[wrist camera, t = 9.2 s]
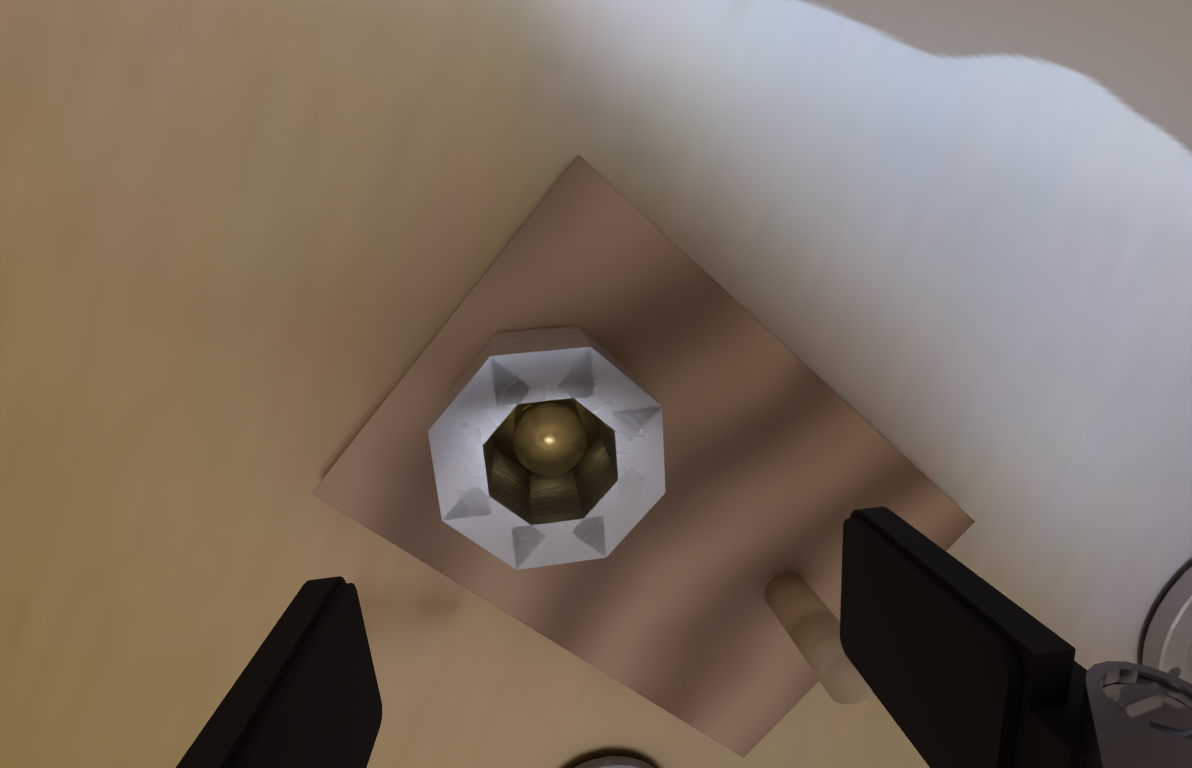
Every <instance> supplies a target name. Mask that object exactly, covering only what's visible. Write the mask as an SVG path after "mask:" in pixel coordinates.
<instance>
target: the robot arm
mask: <svg viewBox="0 0 1192 768" xmlns="http://www.w3.org/2000/svg"><path fill="white" fill-rule="evenodd" d="M840 641H841V645H842V648H843V650H844V653H845V654H846V656H847V658H848V659H849V660H850V662H851V663H852V664H853V666H854V667H855V668H856V670H857V671H858V672H859V674H860V675H861V676H862V678H863V679H864V680H865V682H866V683H867V684H868V686H869V687H870V688H871V690H872V691H873V692H874V694H875V695H876V696H877V698H878V699H879V700H880V702H881V703H882V704H883V706H884V707H885V708H886V710H887V711H888V712H889V714H890V715H891V716H892V718H893V719H894V720H895V722H896V723H897V724H898V726H899V727H900V728H901V730H902V731H903V732H904V734H905V735H906V736H907V738H908V739H909V740H910V742H911V743H912V744H913V746H914V747H915V748H916V750H917V751H918V752H919V754H920V755H921V756H922V758H923V759H924V760H925V762H926V763H927V764H928V766H929V767H930V768H1192V566H1191V567H1190V568H1189V569H1187V570H1186V571H1185V572H1184V573H1183V574H1182V576H1181V577H1180V578H1179V579H1178V580H1177V581H1176V583H1175V584H1174V585H1173V586H1172V587H1171V588H1170V590H1169V591H1168V593H1167V594H1166V596H1165V597H1164V599H1163V600H1162V602H1161V603H1160V605H1159V606H1158V608H1157V610H1156V612H1155V614H1154V616H1153V618H1152V621H1151V623H1150V625H1149V627H1148V631H1147V634H1146V638H1145V641H1144V646H1143V657H1142V664H1143V665H1139V664H1134V663H1129V662H1114V661H1107V662H1103V663H1099V664H1094V665H1093V666H1092V667H1091V668H1090V669H1089V670H1088V671H1087V670H1086V669H1085V668H1083V667H1082V666H1081V665H1079V664H1078V663H1077V662H1075V661H1074V656H1075V650H1076V649H1075V648H1074V647H1072V646H1071V645H1070V644H1068V643H1067V642H1066V641H1064V640H1063V639H1062V638H1060V637H1059V636H1058V635H1056V634H1055V633H1054V632H1052V631H1051V630H1050V629H1048V628H1047V627H1046V626H1044V625H1043V624H1042V623H1040V622H1039V621H1038V620H1037V619H1035V618H1034V617H1033V616H1031V615H1030V614H1029V613H1027V612H1026V611H1025V610H1023V609H1022V608H1021V607H1019V606H1018V605H1017V604H1015V603H1014V602H1013V601H1011V600H1010V599H1009V598H1007V597H1006V596H1005V595H1003V594H1002V593H1001V592H999V591H998V590H997V589H995V588H994V587H993V586H991V585H990V584H989V583H987V582H986V581H985V580H983V579H982V578H981V577H979V576H978V575H977V574H975V573H974V572H973V571H971V570H970V569H969V568H967V567H966V566H965V565H963V564H962V563H961V562H959V561H958V560H957V559H955V558H954V557H953V556H951V555H950V554H949V553H947V552H946V551H945V550H943V549H942V548H941V547H939V546H938V545H937V544H935V543H934V542H933V541H931V540H930V539H929V538H927V537H926V536H925V535H923V534H922V533H921V532H919V531H918V530H917V529H915V528H914V527H913V526H911V525H910V524H909V523H907V522H906V521H905V520H903V519H902V518H901V517H899V516H898V515H897V514H895V513H894V512H893V511H891V510H890V509H889V508H887V507H885V506H881V507H873V508H865V509H858V510H854V511H853V512H852V514H851V516H850V518H847V519H846V520H845V521H844V524H843V544H842V576H841V608H840ZM381 719H382V703H381V697H380V693H379V688H378V684H377V679H376V675H375V670H374V666H373V661H372V657H371V652H370V648H369V643H368V639H367V634H366V630H365V625H364V621H363V616H362V612H361V607H360V603H359V598H358V594H357V590H356V587H355V585H354V584H353V583H348V584H346V582H345V580H344V578H343V577H341V576H339V577H331V578H323V579H315V580H309V581H307V582H306V583H305V584H304V585H303V586H302V588H301V589H300V591H299V592H298V593H297V595H296V596H295V598H294V599H293V601H292V602H291V603H290V605H289V606H288V608H287V609H286V611H285V612H284V613H283V615H282V616H281V618H280V619H279V621H278V622H277V623H276V625H275V626H274V628H273V629H272V631H271V632H270V633H269V635H268V636H267V638H266V639H265V641H264V642H263V644H262V645H261V646H260V648H259V649H258V651H257V652H256V654H255V655H254V656H253V658H252V659H251V661H250V662H249V664H248V665H247V666H246V668H245V669H244V671H243V672H242V674H241V675H240V676H239V678H238V679H237V681H236V682H235V684H234V685H233V686H232V688H231V689H230V691H229V692H228V694H227V695H226V696H225V698H224V699H223V701H222V702H221V704H220V705H219V707H218V708H217V709H216V711H215V712H214V714H213V715H212V717H211V718H210V719H209V721H208V722H207V724H206V725H205V727H204V728H203V729H202V731H201V732H200V734H199V735H198V737H197V738H196V739H195V741H194V742H193V744H192V745H191V747H190V748H189V749H188V751H187V752H186V754H185V755H184V757H183V758H182V759H181V761H180V762H179V764H178V765H177V767H176V768H366V767H367V764H368V761H369V758H370V755H371V752H372V749H373V746H374V743H375V740H376V737H377V734H378V731H379V728H380V724H381Z"/></svg>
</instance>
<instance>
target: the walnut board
mask: <svg viewBox="0 0 1192 768" xmlns="http://www.w3.org/2000/svg"><path fill="white" fill-rule="evenodd" d="M570 326H578V327H579V328H580V329H582V330H583V331H584V332H585V333H586V334H587V335H589V336H590V337H591V338H592V339H593V340H595V341H596V342H597V343H598V344H599V345H601V346H602V347H603V348H604V349H605V350H606V351H608V352H609V353H610V354H611V355H612V356H614V357H615V358H616V359H617V360H618V361H620V362H621V363H622V364H623V365H624V366H625V367H627V368H628V369H629V370H630V371H631V372H633V373H634V374H635V375H636V376H637V377H638V378H639V380H640V381H641V382H642V383H643V384H644V385H645V387H646V388H647V389H648V390H649V391H650V393H651V394H652V395H653V396H654V397H655V398H656V400H657V401H658V402H659V403H660V404H661V405H662V417H663V443H664V469H665V494H664V495H663V496H662V497H661V498H660V499H659V500H658V501H657V502H656V503H655V505H654V506H653V507H652V508H651V509H650V510H649V511H648V512H647V513H646V514H645V516H644V517H643V518H642V519H641V520H640V521H639V522H638V523H637V524H636V525H635V527H634V528H633V529H632V530H631V531H630V532H629V533H628V534H627V535H626V536H625V538H624V539H623V540H622V541H621V542H620V543H619V544H618V545H617V546H616V547H615V549H614V550H613V551H612V552H611V553H610V554H609V555H608V556H607V557H606V558H600V559H593V560H585V561H578V562H571V563H564V564H556V565H549V566H542V567H534V568H527V569H520V570H516V569H514V568H513V567H511V566H510V565H508V564H507V563H505V562H504V561H502V560H501V559H499V558H498V557H496V556H495V555H493V554H492V553H490V552H489V551H487V550H486V549H484V548H483V547H481V546H480V545H478V544H477V543H475V542H474V541H472V540H471V539H469V538H467V537H466V536H464V535H463V534H461V533H460V532H458V531H457V530H455V529H454V528H452V527H451V526H449V525H448V524H446V523H445V522H443V521H442V518H441V511H440V505H439V499H438V492H437V486H436V480H435V474H434V467H433V461H432V455H431V448H430V442H429V436H428V430H429V428H430V426H431V424H432V422H433V419H434V417H435V415H436V413H437V411H438V409H439V407H440V405H441V403H442V401H443V399H444V397H445V394H446V393H447V392H448V391H449V390H450V388H451V387H452V386H453V385H454V384H455V382H456V381H457V380H458V379H459V377H460V376H461V375H462V374H463V373H464V371H465V370H466V369H467V368H468V367H469V365H470V364H471V363H472V362H473V361H474V359H475V358H476V357H477V356H478V355H479V353H480V352H481V351H482V350H483V349H484V347H485V346H486V345H487V344H488V342H489V341H490V340H491V339H492V338H493V336H494V335H495V334H496V333H503V332H515V331H523V330H528V329H534V328H559V327H570ZM311 494H313V495H315V496H316V497H318V498H320V499H321V500H323V501H324V502H326V503H328V504H329V505H331V506H333V507H334V508H336V509H338V510H339V511H341V512H342V513H344V514H346V515H347V516H349V517H351V518H352V519H354V520H356V521H357V522H359V523H360V524H362V525H364V526H365V527H367V528H369V529H370V530H372V531H374V532H375V533H377V534H378V535H380V536H382V537H383V538H385V539H387V540H388V541H390V542H392V543H393V544H395V545H396V546H398V547H400V548H401V549H403V550H405V551H406V552H408V553H410V554H411V555H413V556H414V557H416V558H418V559H419V560H421V561H423V562H424V563H426V564H427V565H429V566H431V567H432V568H434V569H436V570H437V571H439V572H441V573H442V574H444V575H445V576H447V577H449V578H450V579H452V580H454V581H455V582H457V583H459V584H460V585H462V586H463V587H465V588H467V589H468V590H470V591H472V592H473V593H475V594H477V595H478V596H480V597H481V598H483V599H485V600H486V601H488V602H490V603H491V604H493V605H495V606H496V607H498V608H499V609H501V610H503V611H504V612H506V613H508V614H509V615H511V616H513V617H514V618H516V619H517V620H519V621H521V622H522V623H524V624H526V625H527V626H529V627H531V628H532V629H534V630H535V631H537V632H539V633H540V634H542V635H544V636H545V637H547V638H548V639H550V640H552V641H553V642H555V643H557V644H558V645H560V646H562V647H563V648H565V649H566V650H568V651H570V652H571V653H573V654H575V655H576V656H578V657H580V658H581V659H583V660H584V661H586V662H588V663H589V664H591V665H593V666H594V667H596V668H598V669H599V670H601V671H602V672H604V673H606V674H607V675H609V676H611V677H612V678H614V679H616V680H617V681H619V682H620V683H622V684H624V685H625V686H627V687H629V688H630V689H632V690H634V691H635V692H637V693H638V694H640V695H642V696H643V697H645V698H647V699H648V700H650V701H652V702H653V703H655V704H656V705H658V706H660V707H661V708H663V709H665V710H666V711H668V712H669V713H671V714H673V715H674V716H676V717H678V718H679V719H681V720H683V721H684V722H686V723H687V724H689V725H691V726H692V727H694V728H696V729H697V730H699V731H701V732H702V733H704V734H705V735H707V736H709V737H710V738H712V739H714V740H715V741H717V742H719V743H720V744H722V745H723V746H725V747H727V748H728V749H730V750H732V751H733V752H735V753H737V754H738V755H740V756H741V757H743V758H744V757H745V756H746V755H747V754H748V753H749V752H750V751H751V750H752V748H753V747H754V746H755V745H756V744H757V743H758V742H759V741H760V740H761V739H762V738H763V737H764V736H765V735H766V734H767V733H768V732H769V731H770V730H771V729H772V728H773V727H774V726H775V725H776V724H777V723H778V722H779V721H780V720H781V719H782V718H783V717H784V716H785V715H786V714H787V713H788V712H789V711H790V710H791V709H792V708H793V707H794V706H795V705H796V704H797V703H798V702H799V701H800V699H801V698H802V697H803V696H804V695H805V694H806V693H807V692H808V691H809V690H810V689H811V688H812V687H813V686H814V685H815V684H816V683H817V682H818V681H819V679H818V677H817V676H816V674H815V673H814V672H813V670H812V669H811V667H810V666H809V664H808V663H807V661H806V660H805V658H804V657H803V655H802V654H801V652H800V651H799V649H798V648H797V646H796V645H795V644H794V642H793V641H792V639H791V638H790V636H789V635H788V633H787V632H786V630H785V629H784V627H783V626H782V624H781V623H780V621H779V620H778V619H777V617H776V616H775V614H774V613H773V611H772V610H771V608H770V607H769V605H768V604H767V602H766V600H765V590H766V587H767V585H768V584H769V582H770V581H771V580H772V579H773V578H774V577H776V576H778V575H780V574H782V573H786V572H793V573H797V574H799V575H800V576H802V577H803V579H804V580H805V581H806V582H807V583H808V585H809V586H810V587H811V588H812V589H813V591H814V592H815V593H816V594H817V595H818V597H819V598H820V599H821V600H822V601H823V603H824V604H825V605H826V606H827V607H828V609H829V610H830V611H831V612H832V613H833V615H834V616H835V617H836V618H837V619H838V620H839V622H840V608H841V576H842V544H843V524H844V521H845V520H846V519H847V518H850V516H851V514H852V512H853V511H854V510H858V509H865V508H873V507H881V506H885V507H887V508H889V509H890V510H891V511H893V512H894V513H895V514H897V515H898V516H899V517H901V518H902V519H903V520H905V521H906V522H907V523H909V524H910V525H911V526H913V527H914V528H915V529H917V530H918V531H919V532H921V533H922V534H923V535H925V536H926V537H927V538H929V539H930V540H931V541H933V542H934V543H935V544H937V545H938V546H939V547H941V548H942V549H943V550H945V551H946V550H947V549H948V548H949V547H950V546H951V545H952V544H953V543H954V542H955V541H956V540H957V539H958V538H959V537H960V536H961V535H962V534H963V533H964V532H965V531H966V530H967V529H968V528H969V527H970V526H971V525H972V524H973V523H974V522H975V521H974V520H973V519H972V518H970V517H969V516H968V515H967V514H966V513H965V512H964V511H963V510H962V509H961V508H960V507H959V506H957V505H956V504H955V503H954V502H953V501H952V500H951V499H950V498H949V497H948V496H947V495H946V494H945V493H943V492H942V491H941V490H940V489H939V488H938V487H937V486H936V485H935V484H934V483H933V482H932V481H930V480H929V479H928V478H927V477H926V476H925V475H924V474H923V473H922V472H921V471H920V470H919V469H917V468H916V467H915V466H914V465H913V464H912V463H911V462H910V461H909V460H908V459H907V458H906V457H905V456H903V455H902V454H901V453H900V452H899V451H898V450H897V449H896V448H895V447H894V446H893V445H892V444H890V443H889V442H888V441H887V440H886V439H885V438H884V437H883V436H882V435H881V434H880V433H879V432H878V431H876V430H875V429H874V428H873V427H872V426H871V425H870V424H869V423H868V422H867V421H866V420H865V419H863V418H862V417H861V416H860V415H859V414H858V413H857V412H856V411H855V410H854V409H853V408H852V407H851V406H849V405H848V404H847V403H846V402H845V401H844V400H843V399H842V398H841V397H840V396H839V395H838V394H836V393H835V392H834V391H833V390H832V389H831V388H830V387H829V386H828V385H827V384H826V383H825V382H823V381H822V380H821V379H820V378H819V377H818V376H817V375H816V374H815V373H814V372H813V371H812V370H811V369H809V368H808V367H807V366H806V365H805V364H804V363H803V362H802V361H801V360H800V359H799V358H798V357H796V356H795V355H794V354H793V353H792V352H791V351H790V350H789V349H788V348H787V347H786V346H785V345H784V344H782V343H781V342H780V341H779V340H778V339H777V338H776V337H775V336H774V335H773V334H772V333H771V332H769V331H768V330H767V329H766V328H765V327H764V326H763V325H762V324H761V323H760V322H759V321H758V320H757V319H755V318H754V317H753V316H752V315H751V314H750V313H749V312H748V311H747V310H746V309H745V308H744V307H742V306H741V305H740V304H739V303H738V302H737V301H736V300H735V299H734V298H733V297H732V296H731V295H729V294H728V293H727V292H726V291H725V290H724V289H723V288H722V287H721V286H720V285H719V284H718V283H717V282H715V281H714V280H713V279H712V278H711V277H710V276H709V275H708V274H707V273H706V272H705V271H704V270H702V269H701V268H700V267H699V266H698V265H697V264H696V263H695V262H694V261H693V260H692V259H691V258H690V257H688V256H687V255H686V254H685V253H684V252H683V251H682V250H681V249H680V248H679V247H678V246H677V245H675V244H674V243H673V242H672V241H671V240H670V239H669V238H668V237H667V236H666V235H665V234H664V233H663V232H661V231H660V230H659V229H658V228H657V227H656V226H655V225H654V224H653V223H652V222H651V221H650V220H648V219H647V218H646V217H645V216H644V215H643V214H642V213H641V212H640V211H639V210H638V209H637V208H636V207H634V206H633V205H632V204H631V203H630V202H629V201H628V200H627V199H626V198H625V197H624V196H623V195H621V194H620V193H619V192H618V191H617V190H616V189H615V188H614V187H613V186H612V185H611V184H610V183H608V182H607V181H606V180H605V179H604V178H603V177H602V176H601V175H600V174H599V173H598V172H597V171H596V170H594V169H593V168H592V167H591V166H590V165H589V164H588V163H587V162H586V161H585V160H584V159H583V158H581V157H580V156H579V155H578V156H577V157H576V159H575V160H574V161H573V162H572V164H571V165H570V166H569V167H568V169H567V170H566V171H565V172H564V174H563V175H562V176H561V178H560V179H559V180H558V181H557V183H556V184H555V185H554V186H553V188H552V189H551V190H550V191H549V193H548V194H547V195H546V197H545V198H544V199H543V200H542V202H541V203H540V204H539V205H538V207H537V208H536V209H535V211H534V212H533V213H532V214H531V216H530V217H529V218H528V219H527V221H526V222H525V223H524V224H523V226H522V227H521V228H520V230H519V231H518V232H517V233H516V235H515V236H514V237H513V238H512V240H511V241H510V242H509V243H508V245H507V246H506V247H505V249H504V250H503V251H502V252H501V254H500V255H499V256H498V257H497V259H496V260H495V261H494V262H493V264H492V265H491V266H490V268H489V269H488V270H487V271H486V273H485V274H484V275H483V276H482V278H481V279H480V280H479V282H478V283H477V284H476V285H475V287H474V288H473V289H472V290H471V292H470V293H469V294H468V295H467V297H466V298H465V299H464V301H463V302H462V303H461V304H460V306H459V307H458V308H457V309H456V311H455V312H454V313H453V314H452V316H451V317H450V318H449V320H448V321H447V322H446V323H445V325H444V326H443V327H442V328H441V330H440V331H439V332H438V333H437V335H436V336H435V337H434V339H433V340H432V341H431V342H430V344H429V345H428V346H427V347H426V349H425V350H424V351H423V353H422V354H421V355H420V356H419V358H418V359H417V360H416V361H415V363H414V364H413V365H412V366H411V368H410V369H409V370H408V372H407V373H406V374H405V375H404V377H403V378H402V379H401V380H400V382H399V383H398V384H397V385H396V387H395V388H394V389H393V391H392V392H391V393H390V394H389V396H388V397H387V398H386V399H385V401H384V402H383V403H382V404H381V406H380V407H379V408H378V410H377V411H376V412H375V413H374V415H373V416H372V417H371V418H370V420H369V421H368V422H367V423H366V425H365V426H364V427H363V429H362V430H361V431H360V432H359V434H358V435H357V436H356V437H355V439H354V440H353V441H352V443H351V444H350V445H349V446H348V448H347V449H346V450H345V451H344V453H343V454H342V455H341V456H340V458H339V459H338V460H337V462H336V463H335V464H334V465H333V467H332V468H331V469H330V470H329V472H328V473H327V474H326V475H325V477H324V478H323V479H322V481H321V482H320V483H319V484H318V486H317V487H316V488H315V489H314V491H313V492H312V493H311Z"/></svg>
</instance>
